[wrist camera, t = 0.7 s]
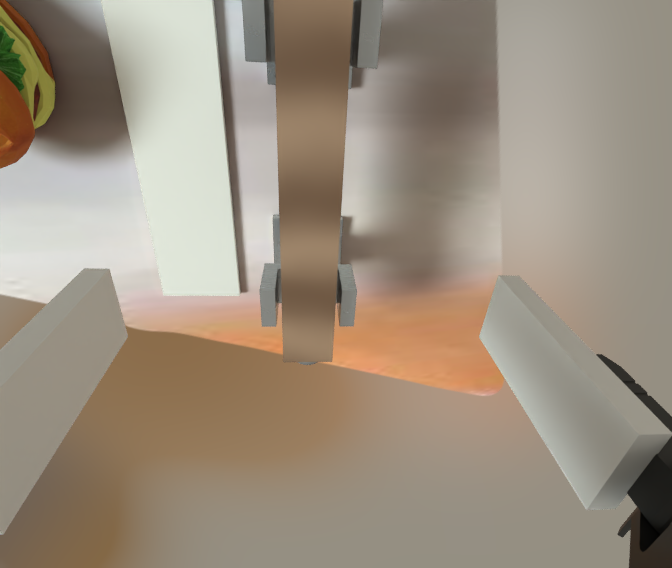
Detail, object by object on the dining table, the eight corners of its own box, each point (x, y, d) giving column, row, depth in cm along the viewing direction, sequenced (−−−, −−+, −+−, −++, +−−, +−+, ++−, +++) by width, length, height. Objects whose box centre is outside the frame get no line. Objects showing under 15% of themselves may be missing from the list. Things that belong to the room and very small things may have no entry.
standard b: (261, -21, 25) (238, -61, 16) (359, -13, 25) (387, -48, 17) (265, 83, 28) (247, 95, 19) (353, 87, 29) (374, 101, 20)
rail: (276, -95, 18) (270, -131, 15) (349, -89, 18) (360, -122, 15) (286, 337, 31) (283, 372, 28) (328, 337, 32) (331, 372, 28)
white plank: (89, -74, 23) (84, -77, 23) (208, -64, 24) (205, -67, 23) (165, 292, 36) (163, 295, 36) (240, 292, 37) (239, 295, 36)
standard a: (270, 215, 33) (258, 270, 25) (345, 216, 34) (358, 271, 25) (272, 275, 36) (262, 343, 28) (341, 275, 37) (352, 342, 28)
